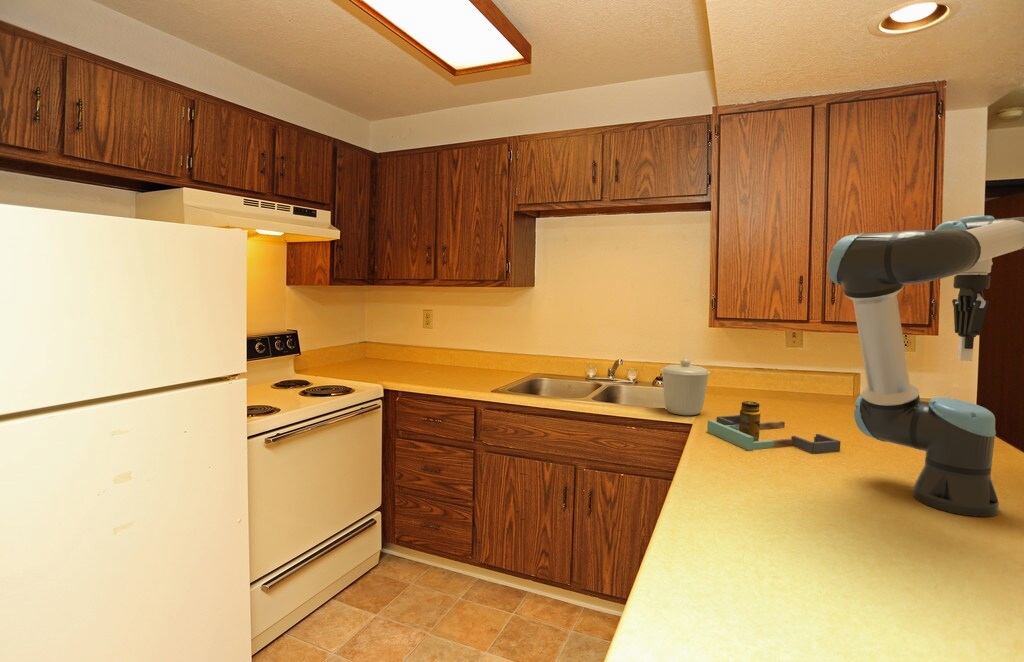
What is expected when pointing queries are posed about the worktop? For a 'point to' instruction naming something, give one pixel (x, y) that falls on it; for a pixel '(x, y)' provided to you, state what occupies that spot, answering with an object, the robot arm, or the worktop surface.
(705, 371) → the canister
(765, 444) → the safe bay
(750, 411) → the condiment
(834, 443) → the trap pits
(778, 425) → the lane
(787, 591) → the worktop surface
